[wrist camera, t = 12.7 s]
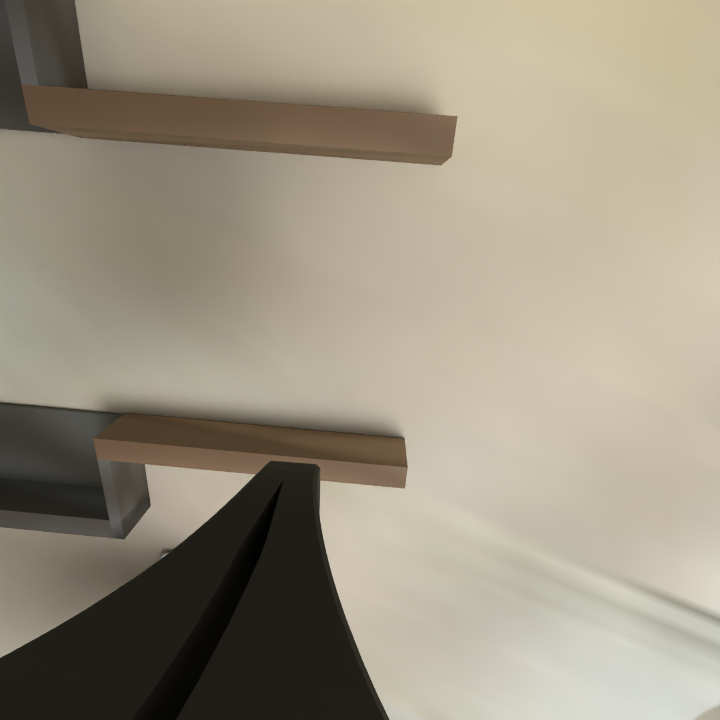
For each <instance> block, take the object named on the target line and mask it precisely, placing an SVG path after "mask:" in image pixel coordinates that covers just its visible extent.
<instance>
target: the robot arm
mask: <svg viewBox="0 0 720 720" xmlns="http://www.w3.org/2000/svg"><path fill="white" fill-rule="evenodd" d="M319 509H320V467H319V466H318V465H317V464H308V463H295V462H282V461H270V462H268V463H267V464H266V465H265V466H264V467H263V468H262V469H261V470H260V471H259V472H258V473H257V474H256V475H255V476H254V477H253V478H252V479H251V480H250V481H249V482H248V483H247V484H246V485H245V486H244V487H243V488H242V489H241V490H240V491H239V492H238V493H237V494H236V495H235V496H234V497H233V498H232V499H231V500H230V501H229V502H228V503H227V504H226V505H224V506H223V507H222V508H221V509H220V510H219V511H218V512H217V513H216V514H215V515H214V516H213V517H211V518H210V519H209V520H208V521H207V522H206V523H204V524H203V525H202V526H201V527H200V528H199V529H197V530H196V531H195V532H194V533H193V534H192V535H190V536H189V537H188V538H187V539H186V540H185V541H183V542H182V543H181V544H180V545H178V546H177V547H176V548H175V549H173V550H172V551H171V552H169V553H165V554H163V555H162V557H161V558H160V560H159V561H158V562H156V563H155V564H153V565H152V566H151V567H149V568H148V569H147V570H145V571H144V572H142V573H141V574H140V575H138V576H137V577H135V578H134V579H132V580H131V581H129V582H128V583H126V584H125V585H123V586H122V587H120V588H118V589H117V590H115V591H114V592H112V593H111V594H109V595H108V596H106V597H105V598H103V599H101V600H100V601H98V602H97V603H95V604H94V605H92V606H91V607H89V608H88V609H86V610H84V611H83V612H81V613H79V614H78V615H76V616H74V617H73V618H71V619H69V620H67V621H66V622H64V623H62V624H61V625H59V626H57V627H56V628H54V629H52V630H50V631H49V632H47V633H45V634H43V635H41V636H40V637H38V638H36V639H34V640H32V641H31V642H29V643H27V644H25V645H23V646H22V647H20V648H18V649H16V650H14V651H12V652H11V653H9V654H7V655H5V656H3V657H1V658H0V720H389V718H388V716H387V714H386V712H385V710H384V707H383V705H382V703H381V701H380V699H379V697H378V695H377V693H376V690H375V688H374V686H373V684H372V681H371V679H370V677H369V675H368V672H367V670H366V668H365V665H364V663H363V661H362V658H361V656H360V653H359V651H358V648H357V645H356V643H355V640H354V638H353V635H352V633H351V630H350V628H349V625H348V622H347V620H346V617H345V614H344V611H343V608H342V605H341V602H340V599H339V596H338V593H337V590H336V587H335V583H334V580H333V577H332V573H331V570H330V566H329V562H328V558H327V554H326V549H325V545H324V540H323V535H322V530H321V523H320V516H319Z"/></svg>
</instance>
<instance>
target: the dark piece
mask: <svg viewBox="0 0 720 720" xmlns="http://www.w3.org/2000/svg"><path fill="white" fill-rule="evenodd" d="M456 122H457V116H446V115H432V114H419V113H405V112H392V111H378V110H364V109H351V108H337V107H324V106H310V105H297V104H283V103H269V102H256V101H242V100H229V99H215V98H201V97H188V96H174V95H161V94H147V93H134V92H120V91H106V90H93V89H87V82H86V76H85V69H84V63H83V56H82V49H81V43H80V36H79V30H78V23H77V16H76V10H75V3H74V0H0V129H10V130H23V131H36V132H49V133H62V134H69V135H73V136H77V137H80V138H92V139H105V140H118V141H132V142H145V143H158V144H171V145H184V146H197V147H210V148H223V149H236V150H250V151H263V152H276V153H289V154H302V155H315V156H328V157H341V158H354V159H367V160H381V161H394V162H407V163H420V164H433V165H442V164H443V163H444V162H445V161H447V160H448V159H449V158H450V157H451V156H452V150H453V143H454V136H455V129H456ZM270 461H282V462H295V463H308V464H317V465H318V466H319V467H320V480H321V481H331V482H342V483H353V484H363V485H374V486H385V487H395V488H405V482H406V475H407V468H408V467H407V458H406V448H405V439H404V438H394V437H383V436H372V435H361V434H350V433H339V432H328V431H317V430H306V429H295V428H284V427H273V426H262V425H251V424H240V423H229V422H218V421H207V420H196V419H186V418H175V417H164V416H153V415H142V414H131V413H125V414H113V413H102V412H91V411H80V410H69V409H58V408H47V407H37V406H26V405H15V404H4V403H0V527H5V528H15V529H26V530H36V531H46V532H56V533H66V534H76V535H87V536H97V537H107V538H117V539H125V538H126V536H127V535H128V534H129V533H130V531H131V530H132V529H133V528H134V526H135V525H136V524H137V522H138V521H139V520H140V519H141V517H142V516H143V515H144V514H145V512H146V511H147V510H148V509H149V507H150V499H149V493H148V486H147V479H146V473H145V466H144V464H151V465H161V466H172V467H183V468H193V469H204V470H214V471H225V472H236V473H246V474H257V473H258V472H259V471H260V470H261V469H262V468H263V467H264V466H265V465H266V464H267V463H268V462H270Z"/></svg>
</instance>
